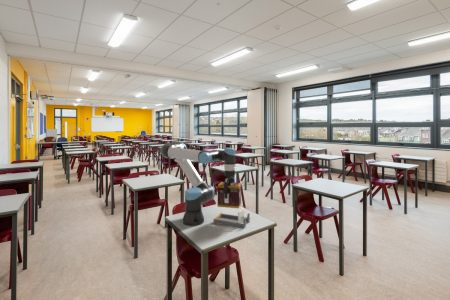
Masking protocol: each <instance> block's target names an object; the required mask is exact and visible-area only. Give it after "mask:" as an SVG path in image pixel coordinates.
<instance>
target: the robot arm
mask: <svg viewBox="0 0 450 300" xmlns="http://www.w3.org/2000/svg"><path fill="white" fill-rule="evenodd" d="M160 154H161V156H162V157H164V158H166V159H171V160H172V159H173V161H174V162H176V163H178V165H179V166H180V168H181V169H182V172H183V173H184V175H185V176H186V178H187V179H188V181H189V182H190V184H191V186H192V187H189V188H188V189H186V190H185V192H184V210H185V211H184V213H183V217H182V223H183V224H184V226H185V225H186V226H194V227H195V226H198V225H199V226H200V225H202V224H203V223H205V218H204V214H203V209H202V206H203V205H204V204H205V203H208V202H210V201H212V200H213V199H214V197H215V189H214V188H213V186H212V185H210V184H208V183H207V182H206V181H205V180H204V181H203V179H202V177H201V176H200V175H199V173H198V171H197V169H196V168H195V167H194V165H193V163H192V161H193V162H200V163H201V164H204V165H205V164H210V163H213V162H219V161H221V162H224V167H223V169H224V170H223V171H224V176H225V177H226V178H225V179H224V182H225V183H224V190H223V194H225V203H229V194H228V191H229V187H228V186H229V185H231V183H236V180H235V175H236V149H235V148H233V147H224V150H221V149H212V150H210V151H205V150H198V149H197V150H196V149H190V148H188V147H187V145H186V144H185V143H184V142H182V141H175V142H166V143H164V144H163V145H161V147H160Z"/></svg>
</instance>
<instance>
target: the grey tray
mask: <svg viewBox="0 0 450 300" xmlns="http://www.w3.org/2000/svg"><path fill="white" fill-rule="evenodd" d="M246 217H247V219H246V218H244V221H243V222H242V223H238V215H234V214H230V213H229V214H227V213H223V212H220V213H218V215H217V216H215V217H214V218H213V220H212V221H213V224H220V225H224V226H231V227H236V228H237V227H238V228H242V229H243V228H244V229H245V228H246V227H247V224H248V223H250V221H251V216H250V213H247V216H246Z"/></svg>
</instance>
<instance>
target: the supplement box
mask: <svg viewBox="0 0 450 300" xmlns="http://www.w3.org/2000/svg"><path fill="white" fill-rule="evenodd" d="M224 183H225V181H221V182H220V183H218V185H217V207H218V208H228V209H229V208H231V209H240V207H241V204H242V182H235V183H231V185H229V186H228V187H229V191H228V194H229V203H225V194H223V190H224Z"/></svg>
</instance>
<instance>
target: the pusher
mask: <svg viewBox="0 0 450 300" xmlns="http://www.w3.org/2000/svg"><path fill="white" fill-rule="evenodd" d="M237 216H238V223H242V222H243V221H244V218H246V219H247V216H245V207H242V208H241V209H240V210H239V211H238V212H237Z"/></svg>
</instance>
